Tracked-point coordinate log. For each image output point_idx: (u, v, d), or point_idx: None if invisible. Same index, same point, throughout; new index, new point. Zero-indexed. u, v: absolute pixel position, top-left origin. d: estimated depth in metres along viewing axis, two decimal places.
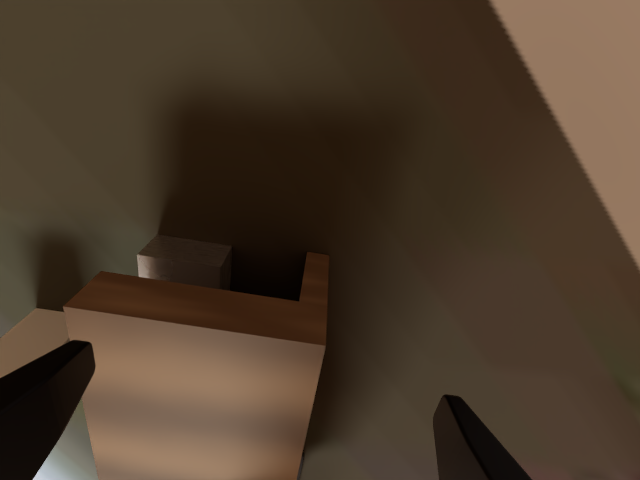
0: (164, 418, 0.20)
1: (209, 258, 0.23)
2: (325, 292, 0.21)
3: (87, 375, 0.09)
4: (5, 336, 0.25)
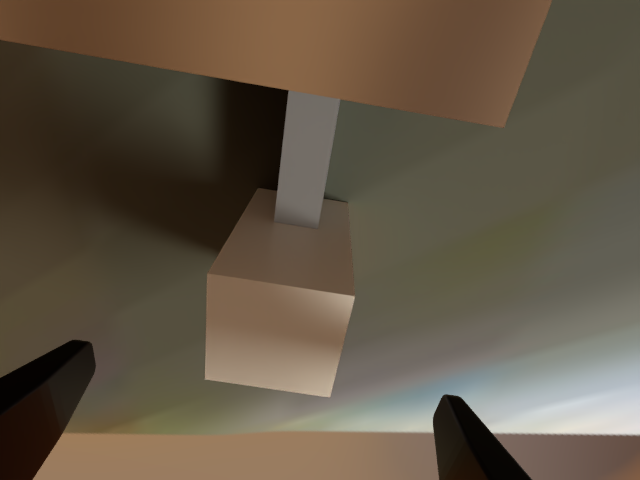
0: None
1: None
2: None
3: (87, 375, 0.09)
4: None
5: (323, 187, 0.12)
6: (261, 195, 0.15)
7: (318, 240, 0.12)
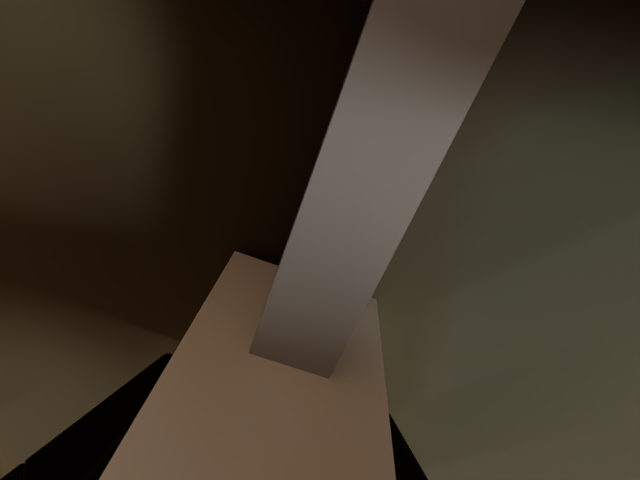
0: None
1: None
2: None
3: None
4: None
5: (358, 315, 0.06)
6: (238, 269, 0.09)
7: (329, 417, 0.06)
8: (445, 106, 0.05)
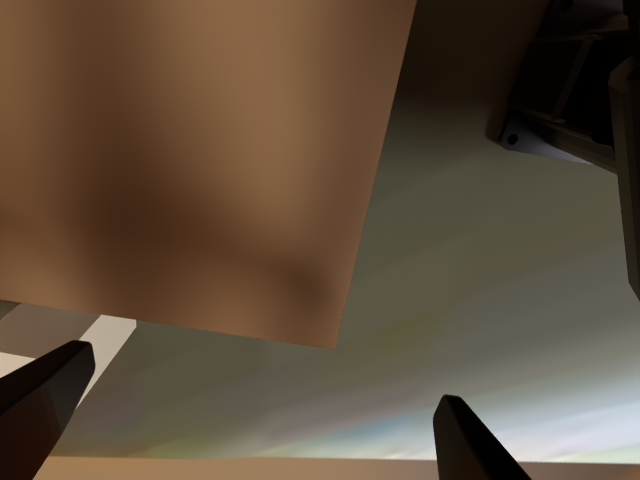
0: (126, 209, 0.11)
1: None
2: None
3: (87, 375, 0.09)
4: None
5: None
6: None
7: (74, 315, 0.19)
8: None
